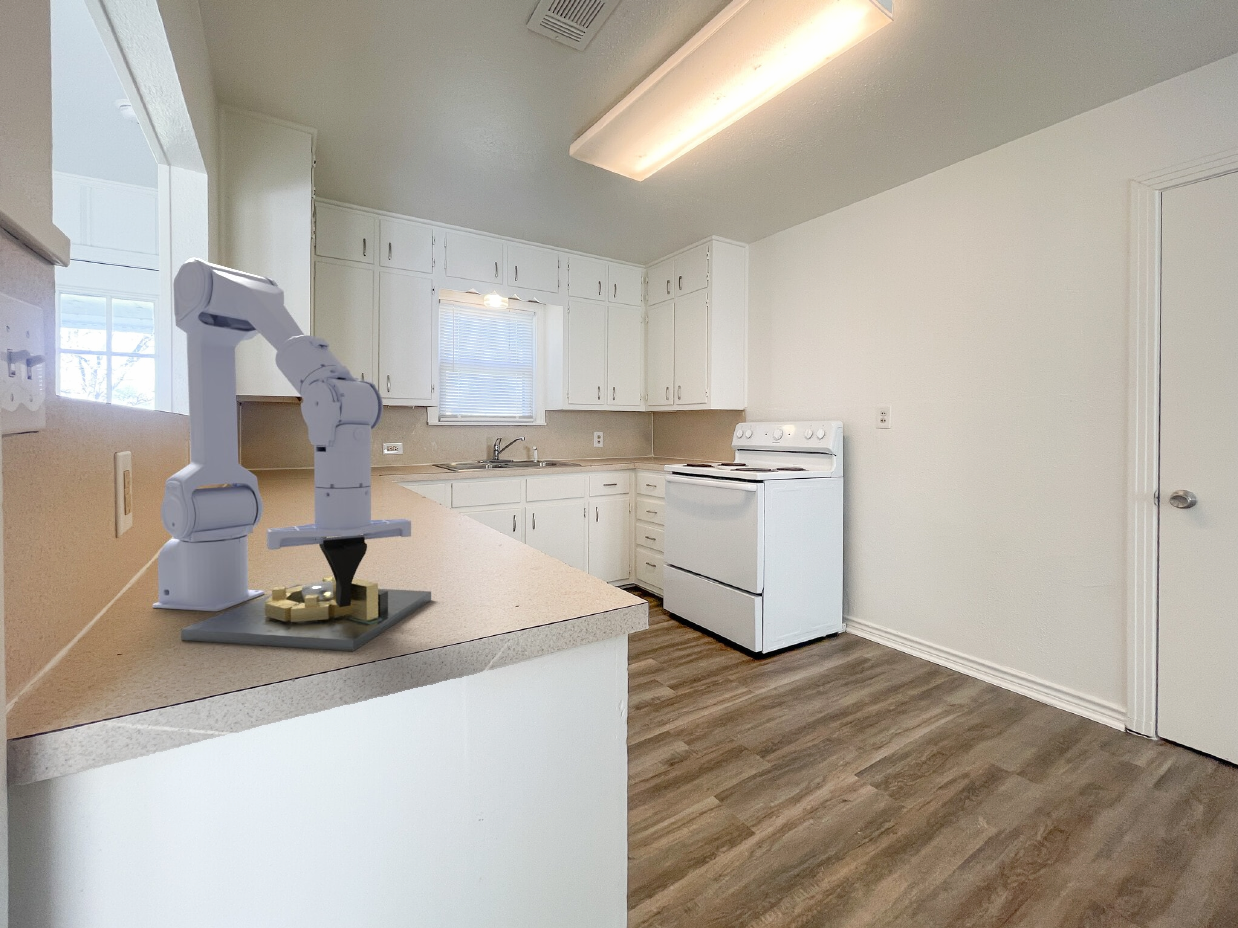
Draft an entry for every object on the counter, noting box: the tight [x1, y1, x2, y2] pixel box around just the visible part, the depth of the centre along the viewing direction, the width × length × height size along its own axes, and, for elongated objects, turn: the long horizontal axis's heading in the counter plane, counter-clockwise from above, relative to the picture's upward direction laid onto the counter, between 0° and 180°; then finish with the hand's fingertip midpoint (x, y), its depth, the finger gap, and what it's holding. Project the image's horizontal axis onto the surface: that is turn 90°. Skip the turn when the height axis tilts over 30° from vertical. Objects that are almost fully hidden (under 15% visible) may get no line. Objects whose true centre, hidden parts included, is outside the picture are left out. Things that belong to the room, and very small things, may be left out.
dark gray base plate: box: [180, 581, 432, 652], centre depth 66 cm, size 20×18×4 cm
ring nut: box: [265, 575, 379, 622], centre depth 65 cm, size 15×11×4 cm
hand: (343, 604), depth 61 cm, fingers closed, pressing on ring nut
